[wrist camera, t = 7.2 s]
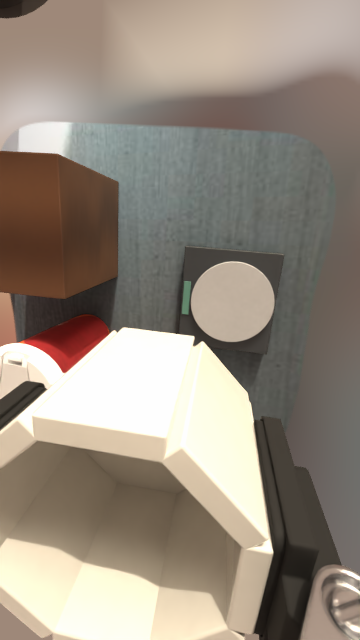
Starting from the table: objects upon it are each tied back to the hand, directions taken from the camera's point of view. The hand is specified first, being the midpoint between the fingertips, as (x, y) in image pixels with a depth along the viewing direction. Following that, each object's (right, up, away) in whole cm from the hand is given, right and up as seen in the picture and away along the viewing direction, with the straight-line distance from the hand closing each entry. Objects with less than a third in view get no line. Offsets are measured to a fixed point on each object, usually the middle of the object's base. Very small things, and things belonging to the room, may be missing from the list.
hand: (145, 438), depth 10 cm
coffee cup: (-11, +2, +30) cm, 33 cm away
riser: (-12, +15, +26) cm, 33 cm away
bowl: (0, 0, +1) cm, 1 cm away
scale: (+7, +6, +26) cm, 28 cm away
